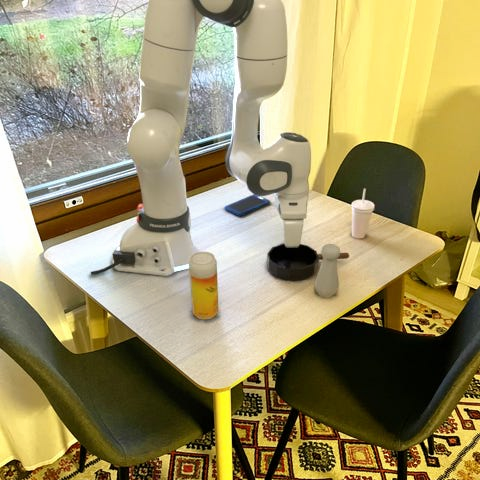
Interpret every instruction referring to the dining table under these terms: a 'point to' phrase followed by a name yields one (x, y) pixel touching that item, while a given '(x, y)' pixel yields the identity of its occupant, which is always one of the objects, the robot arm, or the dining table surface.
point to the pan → (294, 262)
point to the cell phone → (247, 205)
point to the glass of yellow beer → (203, 285)
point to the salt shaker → (328, 272)
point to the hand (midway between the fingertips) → (288, 245)
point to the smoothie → (361, 216)
